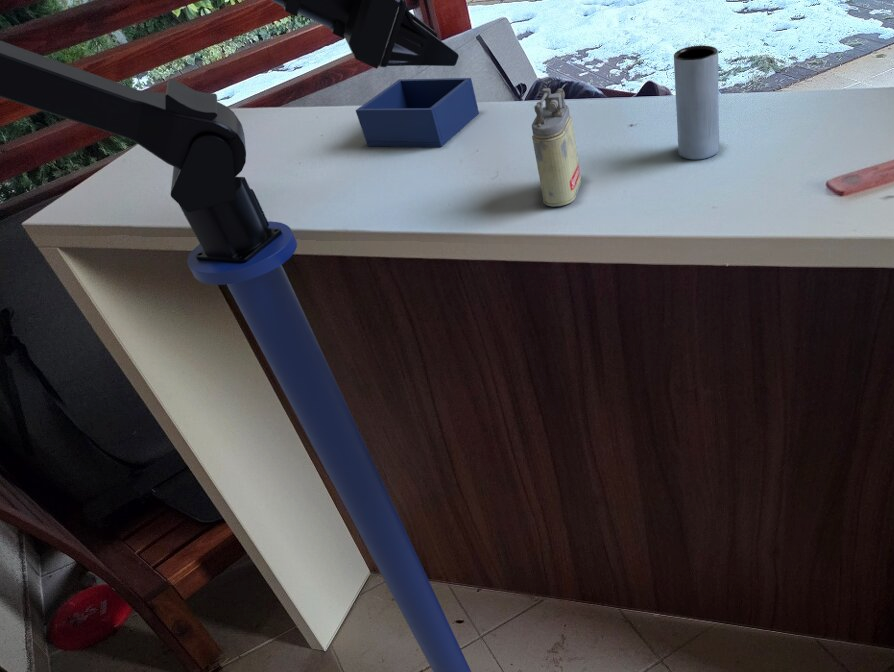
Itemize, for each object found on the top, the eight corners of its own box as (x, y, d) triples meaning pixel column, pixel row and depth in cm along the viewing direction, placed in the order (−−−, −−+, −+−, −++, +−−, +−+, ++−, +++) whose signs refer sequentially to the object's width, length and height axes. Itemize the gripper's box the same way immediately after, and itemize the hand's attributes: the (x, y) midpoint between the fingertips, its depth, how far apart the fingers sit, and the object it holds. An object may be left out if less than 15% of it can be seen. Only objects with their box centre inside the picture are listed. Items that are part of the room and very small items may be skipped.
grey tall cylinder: (725, 144, 84) (724, 45, 77) (710, 161, 82) (708, 60, 75) (687, 142, 86) (683, 44, 79) (672, 158, 83) (666, 59, 76)
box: (441, 147, 95) (431, 109, 92) (367, 146, 98) (355, 110, 95) (479, 113, 102) (471, 77, 99) (409, 113, 106) (399, 79, 102)
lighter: (572, 207, 78) (557, 108, 71) (537, 208, 78) (518, 110, 72) (584, 177, 83) (570, 82, 76) (551, 179, 83) (534, 84, 77)
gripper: (317, -132, 55) (504, -22, 64) (296, -143, 68) (454, -51, 77) (276, 24, 60) (456, 106, 68) (264, -15, 73) (416, 58, 82)
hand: (446, 49), depth 74 cm, fingers open, 9 cm apart
